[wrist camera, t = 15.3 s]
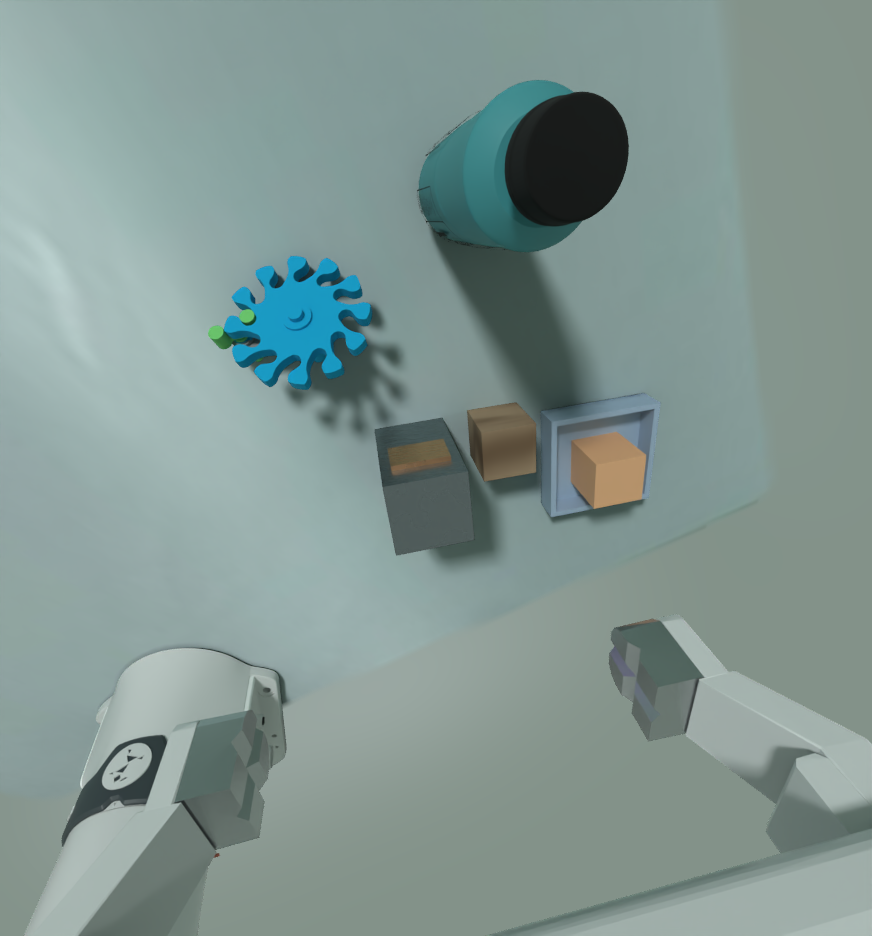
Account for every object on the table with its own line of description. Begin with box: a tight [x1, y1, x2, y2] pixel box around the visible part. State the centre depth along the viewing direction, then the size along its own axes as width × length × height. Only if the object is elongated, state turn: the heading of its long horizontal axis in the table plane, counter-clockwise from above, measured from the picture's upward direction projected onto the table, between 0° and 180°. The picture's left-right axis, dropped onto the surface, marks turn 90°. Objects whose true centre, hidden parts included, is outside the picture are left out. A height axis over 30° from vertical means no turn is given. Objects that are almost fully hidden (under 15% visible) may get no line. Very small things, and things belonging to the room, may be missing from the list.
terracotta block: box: [571, 432, 646, 509], centre depth 43 cm, size 4×4×5 cm
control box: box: [375, 418, 474, 555], centre depth 38 cm, size 7×6×10 cm
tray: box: [541, 393, 661, 517], centre depth 45 cm, size 10×10×3 cm
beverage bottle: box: [417, 80, 629, 252], centre depth 25 cm, size 6×7×20 cm
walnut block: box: [467, 402, 536, 482], centre depth 41 cm, size 4×4×5 cm
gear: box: [208, 256, 372, 390], centre depth 34 cm, size 11×6×10 cm
